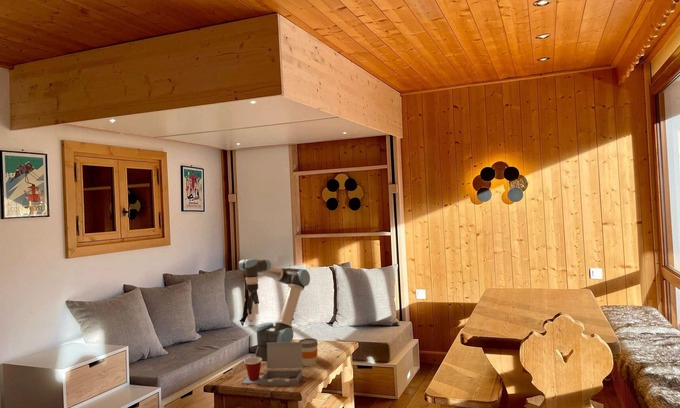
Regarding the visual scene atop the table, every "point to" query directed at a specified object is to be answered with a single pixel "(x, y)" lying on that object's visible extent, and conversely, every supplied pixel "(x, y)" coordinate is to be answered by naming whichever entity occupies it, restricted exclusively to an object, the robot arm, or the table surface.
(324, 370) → the table surface
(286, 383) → the case
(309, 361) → the reusable coffee cup
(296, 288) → the robot arm
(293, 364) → the lid
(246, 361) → the plastic cup
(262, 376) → the mat
